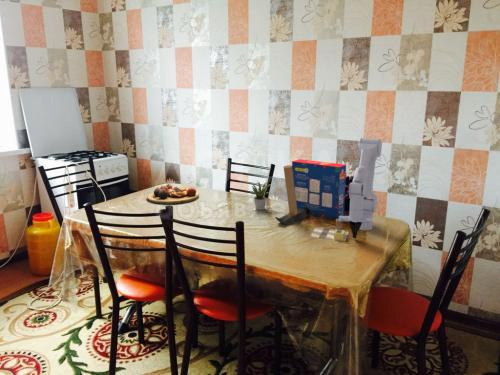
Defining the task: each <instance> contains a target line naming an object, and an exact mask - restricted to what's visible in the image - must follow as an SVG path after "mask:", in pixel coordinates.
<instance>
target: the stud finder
mask: <svg viewBox="0 0 500 375" xmlns="http://www.w3.org/2000/svg"><path fill="white" fill-rule="evenodd" d="M335 230H336V229H335ZM345 231H346V230H343V229H342V230H336V231H335V233H334V239H335V240H334V241H340V240H343V239H344V237H345Z"/></svg>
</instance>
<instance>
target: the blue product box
mask: <svg viewBox="0 0 500 375" xmlns="http://www.w3.org/2000/svg"><path fill="white" fill-rule="evenodd" d="M291 166H292V171H293V179H294V187H295V196H296V204H297V209H298V208H300V209H303V208H304V207H308V208H309V210H310V214H309V215H312V216H317V217H322V218H327V219H335V220H336V219H339V216H345V200H346V199H345V196H346V179H347V178H346V177H347V176H346V175H347V164H345V163H338V162H337V163H334V162H327V161H318V160H311V159H310V160H309V159H295V160H292V161H291Z"/></svg>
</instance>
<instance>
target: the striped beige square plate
mask: <svg viewBox="0 0 500 375" xmlns="http://www.w3.org/2000/svg"><path fill="white" fill-rule="evenodd" d="M335 230H336V228H334V229H333V228H322V227H315V228H314V229H313V231H312V232H311V234H310V235H309V238H313V239H324V240H330V241H331V240H332V241H336V240H335V239H334V233H335ZM349 233H350V231H349V230H345V237H344V239H343V240H339V242H340V241H341V242H346V240H347V237H348V235H349Z"/></svg>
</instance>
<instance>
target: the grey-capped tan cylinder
mask: <svg viewBox="0 0 500 375" xmlns="http://www.w3.org/2000/svg"><path fill="white" fill-rule="evenodd" d="M336 230H343V221H339V219H335V231H336Z"/></svg>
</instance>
